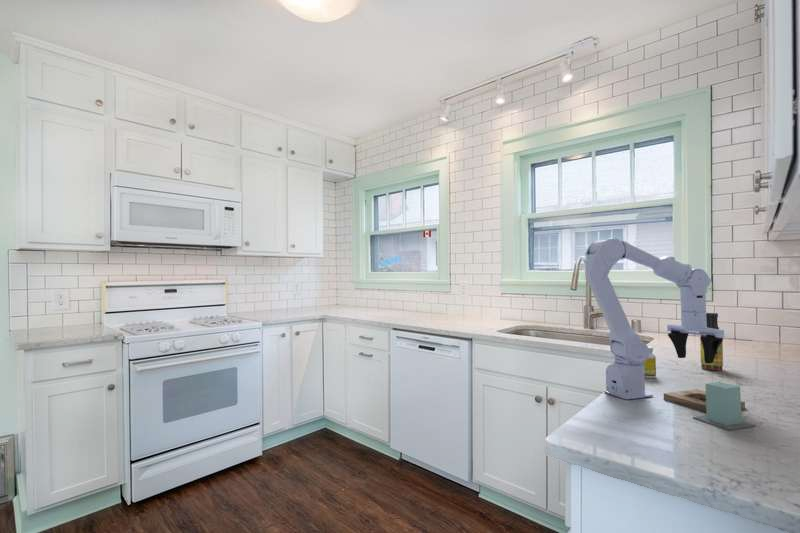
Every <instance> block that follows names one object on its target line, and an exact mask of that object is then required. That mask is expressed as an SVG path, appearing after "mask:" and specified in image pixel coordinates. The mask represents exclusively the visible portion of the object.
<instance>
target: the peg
mask: <svg viewBox="0 0 800 533" xmlns="http://www.w3.org/2000/svg"><path fill="white" fill-rule="evenodd" d="M705 391H706V401H705V402H706V412H705V414H706V415H707V419H709V420H713V421H716V422H719V423H722V424H725V425H732V424H738V423H742V422H741V420H742V409H741V401H742V400H741V397H742V396H741V386H740V385H735V384H732V383H727V382H723V381H714V382H705Z"/></svg>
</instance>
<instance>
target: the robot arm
mask: <svg viewBox="0 0 800 533" xmlns="http://www.w3.org/2000/svg"><path fill="white" fill-rule="evenodd" d="M584 254H585V259H586V260H585V271H584V274H585V278H586V280H587V282H588V285H589V286H590V289H591V291H592V294H593V295H594V298H595V300H596V302H597V305H598V307H599V310H600V312H601V314H602V316H603V318H604V319H603V320H604V321H605V323H606V325H607V327H608V329H609V334H608V339H609V344H610V345H609V348H610V352H611V354H612V355H613V356H614V362H612V363H610V364H609V365H608V366H607V367H606V369H605V389H603V392H604V393H606V391H608V392H609V393H608V394H609V395H612V396H615V397H617V398H621V399H623V400H634V399H641V398H649V397H650V398H651V397H654V394H652V393H649V392H647V391H646V382H645V381H646V380H645V373H644V365H645V361H646V360H647V359H648V357H649V348H648V346H649V345H647V344H646V343H645V342H644V341H643V340H642V339H641V337H640V335H639V334H638V333H637V331H636V330H635V329H633V327H631V325H630V323H629V320H628V317H627V316H626V313H625V311H624V309H623V307H622V304H621V303H620V300H619V298H618V296H617V293H616V291H615V289H614V287H613V284H612V282H611V279H610V278H609V275H610V274H609V273H610V272H611V270H612V268H613V267H614V265H616V264H617V263H618V262H619V261H620V260H623V259H626V260H628V261H631V262H634V263H637V264H640V265H642V266H645V267H647V268H650V269H652V271H653V274H654V275H655V276H658V277H659V278H663V280H664V279H665V280H667V281H670V282H672V283H674V284H675V285H676V286H677V287H678V288H679V290H680V291H679V294H680V295H679V296H680V319H681V320H680V322H681V324H667V325H666V329H667V330H666V331H667V332H669V333H667V336H668V338H669V339H670V340H671V342H672V344H673V346H674V347H673V348H674V349H675V351H676V355H677V358H678V359H686V357H687V340H688V337H689V335H690V334H691V335H697V336H700V338H699V340H700V339H701V341H702V345H703V349H704V360H705V363H713V361H714V357H715V354H716V351H717V349H718V347H719V345H720V344H721V342H722V341H723V342H724V338H725V330H724V329H720V328H719V329H713V328H707V322H706V313H707V301H706V298H707V297H706V296H707V295H706V294H707V292H708V291H707V289H708V287H709V286H710V285H711V282H712V278H710V276H709V275H708V273H707V272H706V271H705V270H704V269H702V268H693V267H692V265H691V264H689V263H682V262H680V261H677V260H676V258H675V257H674V256H662V257H660V258H659V257H658V256H655V255H653V254H651V253H649V252H647V251H645V250H642V249H640V248H639V247H636V246H635V245H633V244H630V243H629V242H628V241H624V240H620V239H619V238H617V237H610V238H608V239H607V238H606V239H604V240H596V241H593V242H592V243H590V244H589V246H588V247H587V249H586V251H585V253H584ZM701 335H704V336H706V337H701Z"/></svg>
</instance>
